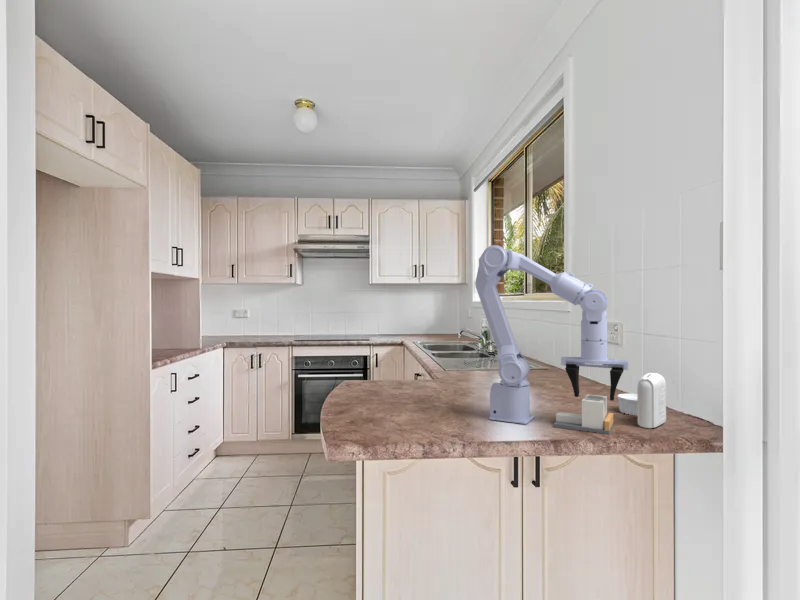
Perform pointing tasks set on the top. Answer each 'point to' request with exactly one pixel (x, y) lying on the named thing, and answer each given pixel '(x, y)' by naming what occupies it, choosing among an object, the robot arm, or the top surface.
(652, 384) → the photo printer
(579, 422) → the rail mount
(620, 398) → the ramekin
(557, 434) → the top surface
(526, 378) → the robot arm
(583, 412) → the block
